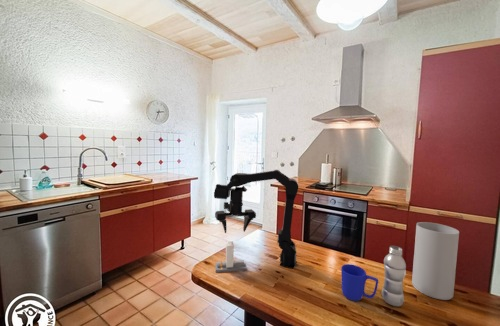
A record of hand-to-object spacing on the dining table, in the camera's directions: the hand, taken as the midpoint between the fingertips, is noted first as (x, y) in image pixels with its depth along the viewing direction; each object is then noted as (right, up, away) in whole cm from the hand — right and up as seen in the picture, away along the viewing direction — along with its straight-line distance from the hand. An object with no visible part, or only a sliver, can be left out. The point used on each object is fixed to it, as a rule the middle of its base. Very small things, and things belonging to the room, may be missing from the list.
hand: (234, 232), depth 107 cm
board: (-2, -14, -7) cm, 15 cm away
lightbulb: (+63, -16, -20) cm, 68 cm away
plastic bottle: (+58, -17, -27) cm, 66 cm away
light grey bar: (-2, -14, -7) cm, 15 cm away
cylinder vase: (+78, -17, -19) cm, 82 cm away
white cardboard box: (-2, -12, -7) cm, 14 cm away
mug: (+46, -16, -25) cm, 55 cm away
